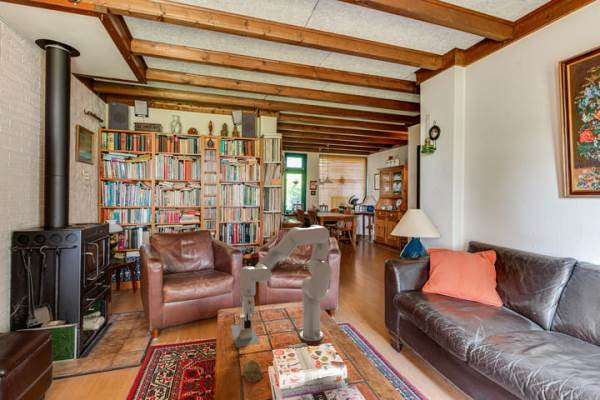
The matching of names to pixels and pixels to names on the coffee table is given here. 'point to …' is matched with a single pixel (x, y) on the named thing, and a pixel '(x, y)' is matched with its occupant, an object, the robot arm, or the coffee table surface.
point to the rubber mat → (243, 342)
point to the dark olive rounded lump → (252, 371)
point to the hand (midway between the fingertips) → (247, 327)
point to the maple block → (243, 332)
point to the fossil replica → (298, 345)
